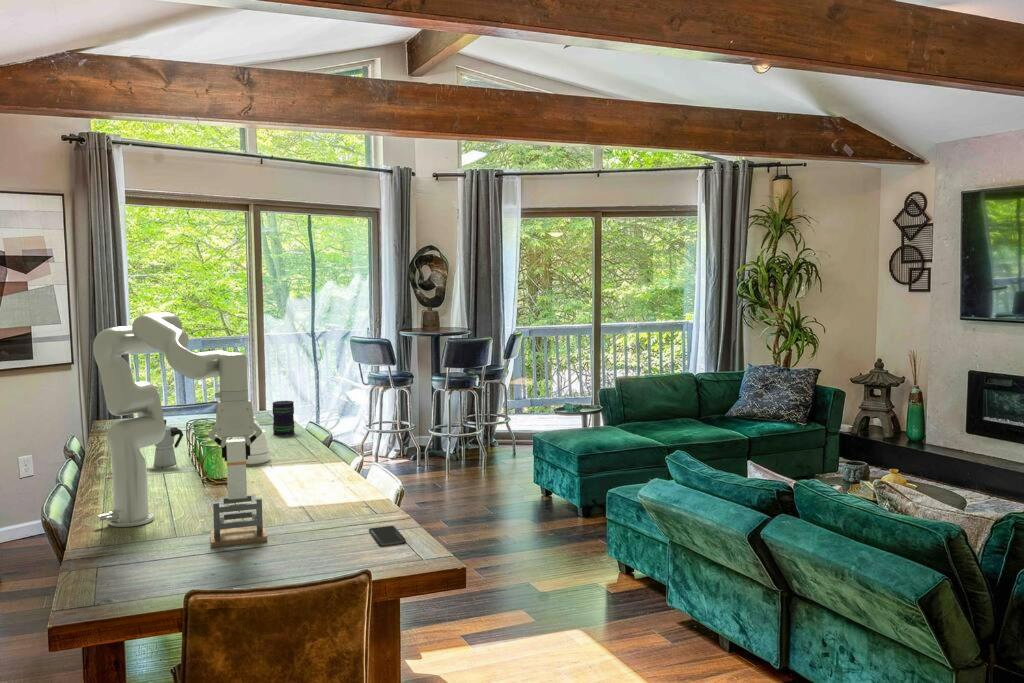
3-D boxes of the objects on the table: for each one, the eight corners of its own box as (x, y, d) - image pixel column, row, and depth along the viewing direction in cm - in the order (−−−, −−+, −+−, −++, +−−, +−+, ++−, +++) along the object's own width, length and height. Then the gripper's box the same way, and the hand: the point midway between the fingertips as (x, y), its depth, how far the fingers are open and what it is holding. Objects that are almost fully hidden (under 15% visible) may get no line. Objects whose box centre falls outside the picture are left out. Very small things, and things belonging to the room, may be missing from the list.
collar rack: (211, 547, 227) (209, 508, 226) (211, 535, 237) (209, 498, 236) (267, 541, 232) (266, 503, 231) (264, 529, 242) (263, 493, 241)
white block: (228, 499, 230) (226, 443, 229) (227, 494, 235) (225, 440, 233) (247, 497, 232) (245, 442, 230) (246, 493, 237) (244, 438, 235)
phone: (379, 544, 227) (367, 528, 241) (379, 548, 227) (368, 532, 241) (407, 540, 230) (394, 525, 244) (407, 544, 230) (394, 528, 244)
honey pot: (271, 462, 328) (270, 418, 327) (237, 465, 323) (236, 420, 322) (268, 455, 340) (267, 412, 339) (236, 458, 335) (234, 415, 334)
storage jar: (272, 432, 389) (272, 401, 388) (294, 430, 392) (293, 400, 391) (273, 436, 380) (272, 404, 378) (295, 434, 383) (294, 403, 381)
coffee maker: (143, 466, 322) (142, 421, 321) (158, 461, 331) (156, 417, 329) (176, 468, 319) (175, 422, 317) (190, 462, 327) (189, 418, 326)
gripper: (202, 399, 224) (204, 464, 226) (266, 396, 230) (268, 459, 232) (202, 396, 231) (204, 459, 233) (264, 392, 237) (266, 454, 239)
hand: (236, 458), depth 232 cm, fingers closed on white block, 5 cm apart
